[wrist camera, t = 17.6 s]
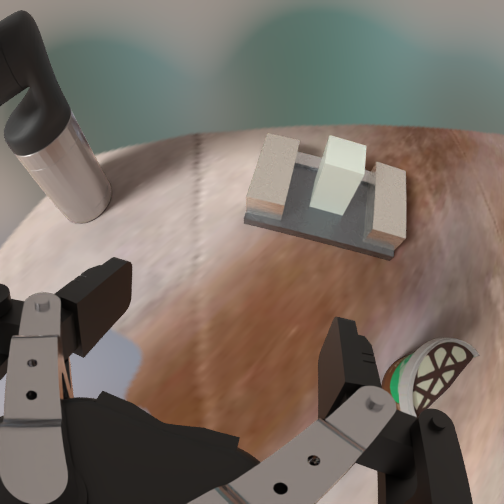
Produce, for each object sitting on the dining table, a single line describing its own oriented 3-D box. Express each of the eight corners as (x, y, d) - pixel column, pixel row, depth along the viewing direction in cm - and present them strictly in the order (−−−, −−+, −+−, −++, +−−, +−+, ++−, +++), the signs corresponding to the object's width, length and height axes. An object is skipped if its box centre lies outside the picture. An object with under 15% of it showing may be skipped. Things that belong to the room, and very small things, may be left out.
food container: (417, 329, 40) (457, 313, 31) (439, 362, 38) (481, 352, 29) (354, 385, 37) (387, 383, 28) (378, 419, 35) (415, 426, 26)
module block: (309, 206, 45) (324, 163, 36) (314, 179, 47) (329, 135, 38) (342, 215, 45) (364, 174, 36) (346, 188, 47) (366, 145, 38)
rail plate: (243, 223, 46) (244, 202, 41) (266, 151, 51) (268, 128, 46) (389, 260, 44) (405, 245, 39) (392, 185, 50) (405, 166, 45)
